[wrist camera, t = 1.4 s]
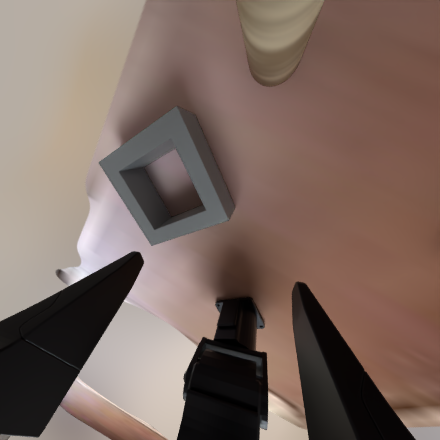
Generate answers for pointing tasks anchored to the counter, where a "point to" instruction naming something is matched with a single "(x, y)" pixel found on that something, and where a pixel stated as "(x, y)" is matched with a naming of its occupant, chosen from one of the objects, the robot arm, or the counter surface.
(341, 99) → the counter surface
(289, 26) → the birch peg
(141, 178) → the frame
